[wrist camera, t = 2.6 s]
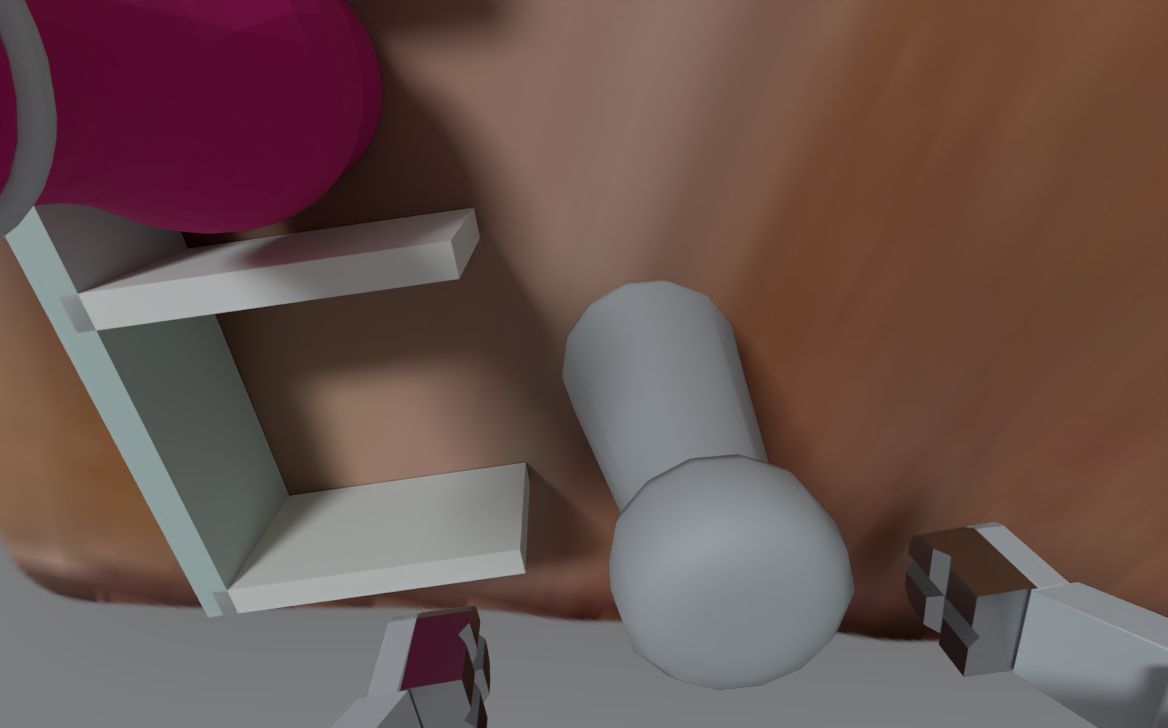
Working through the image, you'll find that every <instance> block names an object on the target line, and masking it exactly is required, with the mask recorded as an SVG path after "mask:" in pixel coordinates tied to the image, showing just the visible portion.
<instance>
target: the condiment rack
mask: <svg viewBox="0 0 1168 728" xmlns="http://www.w3.org/2000/svg"><path fill="white" fill-rule="evenodd" d="M5 237H6V239H7V241H8V243H9V245H10V246H11V248H12V250H13V252H14V254H15V256H16V258H17V260H18V261H19V263H20V265H21V267H22V269H23V271H24V273H25V275H26V276H27V278H28V280H29V282H30V284H31V286H32V288H33V290H34V291H35V293H36V295H37V297H38V299H39V301H40V303H41V305H42V306H43V308H44V310H45V312H46V314H47V316H48V318H49V320H50V321H51V323H52V325H53V327H54V329H55V331H56V333H57V335H58V336H59V338H60V340H61V342H62V344H63V346H64V348H65V350H66V351H67V353H68V355H69V357H70V359H71V361H72V363H73V365H74V366H75V368H76V370H77V372H78V374H79V376H80V378H81V380H82V381H83V383H84V385H85V387H86V389H87V391H88V393H89V395H90V396H91V398H92V400H93V402H94V404H95V406H96V408H97V410H98V411H99V413H100V415H101V417H102V419H103V421H104V423H105V425H106V427H107V428H108V430H109V432H110V434H111V436H112V438H113V440H114V442H115V443H116V445H117V447H118V449H119V451H120V453H121V455H122V457H123V458H124V460H125V462H126V464H127V466H128V468H129V470H130V472H131V473H132V475H133V477H134V479H135V481H136V483H137V485H138V487H139V488H140V490H141V492H142V494H143V496H144V498H145V500H146V502H147V503H148V505H149V507H150V509H151V511H152V513H153V515H154V517H155V518H156V520H157V522H158V524H159V526H160V528H161V530H162V532H163V533H164V535H165V537H166V539H167V541H168V543H169V545H170V547H171V548H172V550H173V552H174V554H175V556H176V558H177V560H178V562H179V563H180V565H181V567H182V569H183V571H184V573H185V575H186V577H187V578H188V580H189V582H190V584H191V586H192V588H193V590H194V592H195V593H196V595H197V597H198V599H199V601H200V603H201V605H202V607H203V609H204V610H205V612H206V614H207V616H208V617H215V616H221V615H229V614H237V613H244V612H251V611H258V610H265V609H272V608H280V607H287V606H294V605H301V604H308V603H315V602H323V601H330V600H337V599H344V598H351V597H358V596H366V595H373V594H380V593H387V592H394V591H401V590H409V589H416V588H423V587H430V586H437V585H444V584H452V583H459V582H466V581H473V580H480V579H487V578H495V577H502V576H509V575H516V574H523V573H525V569H526V550H527V531H528V512H529V492H530V481H529V476H528V471H527V466H526V462H525V463H518V464H511V465H504V466H497V467H490V468H483V469H476V470H468V471H461V472H454V473H447V474H440V475H433V476H426V477H419V478H412V479H404V480H397V481H390V482H383V483H376V484H369V485H362V486H355V487H347V488H340V489H333V490H326V491H319V492H312V493H305V494H298V495H291V496H289V494H288V491H287V489H286V487H285V484H284V482H283V479H282V477H281V474H280V472H279V469H278V467H277V465H276V462H275V460H274V457H273V455H272V452H271V450H270V447H269V445H268V443H267V440H266V438H265V435H264V433H263V430H262V428H261V425H260V423H259V421H258V418H257V416H256V413H255V411H254V408H253V406H252V404H251V401H250V399H249V396H248V394H247V391H246V389H245V386H244V384H243V382H242V379H241V377H240V374H239V372H238V369H237V367H236V364H235V362H234V360H233V357H232V355H231V352H230V350H229V347H228V345H227V342H226V340H225V338H224V335H223V333H222V330H221V328H220V325H219V323H218V320H217V318H216V316H215V314H216V313H224V312H231V311H238V310H245V309H252V308H259V307H266V306H273V305H280V304H287V303H294V302H301V301H308V300H315V299H322V298H329V297H336V296H343V295H350V294H357V293H364V292H371V291H378V290H385V289H392V288H399V287H406V286H413V285H420V284H427V283H434V282H441V281H448V280H455V279H460V277H461V275H462V273H463V271H464V269H465V267H466V265H467V263H468V261H469V259H470V257H471V255H472V253H473V251H474V249H475V247H476V245H477V243H478V241H479V239H480V235H479V230H478V225H477V220H476V215H475V210H474V208H468V209H461V210H454V211H447V212H440V213H433V214H426V215H419V216H412V217H405V218H398V219H391V220H384V221H377V222H370V223H363V224H356V225H349V226H342V227H335V228H328V229H321V230H314V231H307V232H300V233H293V234H286V235H279V236H272V237H265V238H258V239H251V240H244V241H237V242H230V243H223V244H216V245H209V246H202V247H195V248H188V247H187V245H186V242H185V240H184V237H183V235H182V233H181V231H175V230H168V229H162V228H156V227H151V226H148V225H145V224H141V223H138V222H135V221H132V220H129V219H126V218H123V217H120V216H118V215H115V214H112V213H109V212H107V211H104V210H101V209H98V208H95V207H91V206H86V205H75V204H65V203H58V204H46V205H35V206H33V207H32V208H31V210H30V211H29V212H28V214H27V215H26V216H25V217H24V219H23V220H22V221H21V222H20V224H19V225H18V226H17V227H16V228H14V229H13V230H12V231H11V232H9V233H8V234H6V235H5Z"/></svg>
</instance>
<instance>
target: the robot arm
mask: <svg viewBox="0 0 1168 728" xmlns="http://www.w3.org/2000/svg"><path fill="white" fill-rule="evenodd" d="M908 553H909V554H910V556H911V557H912V558H913V559H914V560H915V562H914V563H913V564H912V565H911V566H910V568H909V569H908V570H907V571H906V581H905V587H906V591H907V595H908V599H909V602H910V604H911V606H912V608H913V610H914V612H915V613H916V615H917V616H918V618H919V619H920V620H921V622H922V623H923V624H924V625H926V626H928V627H930V628H931V629H933V630H935V631H937V632H939V633H940V636H939V645H940V647H941V648H942V649H943V651H944V652H945V653H946V654H947V656H948V657H949V658H950V659H951V661H952V662H953V663H954V665H955V666H956V667H957V669H958V670H959V671H960V672H961V674H962V675H963V676H964V677H965V676H972V675H980V674H988V673H995V672H1002V671H1010V670H1013V673H1014V674H1016V675H1017V676H1019V677H1021V678H1022V679H1023V680H1025V681H1027V682H1028V683H1030V684H1031V685H1033V686H1034V687H1036V688H1037V689H1039V690H1041V691H1042V692H1044V693H1045V694H1047V695H1048V696H1050V697H1051V698H1053V699H1055V700H1056V701H1058V702H1059V703H1061V704H1062V705H1064V706H1065V707H1067V708H1069V709H1070V710H1072V711H1073V712H1075V713H1076V714H1078V715H1079V716H1081V717H1083V718H1084V719H1086V720H1087V721H1089V722H1090V723H1092V724H1094V725H1095V726H1096V727H1098V728H1168V618H1167V617H1164V616H1162V615H1159V614H1157V613H1154V612H1152V611H1149V610H1147V609H1144V608H1142V607H1139V606H1137V605H1134V604H1132V603H1129V602H1127V601H1124V600H1122V599H1119V598H1117V597H1114V596H1112V595H1109V594H1107V593H1104V592H1102V591H1099V590H1097V589H1094V588H1092V587H1089V586H1087V585H1084V584H1082V583H1079V582H1077V583H1069V582H1068V581H1066V580H1065V579H1064V578H1063V577H1062V576H1061V575H1060V574H1058V573H1057V572H1056V571H1055V570H1054V569H1053V568H1052V567H1050V566H1049V565H1048V564H1047V563H1046V562H1045V561H1043V560H1042V559H1041V558H1040V557H1039V556H1038V555H1037V554H1035V553H1034V552H1033V551H1032V550H1031V549H1030V548H1029V547H1027V546H1026V545H1025V544H1024V543H1023V542H1022V541H1020V540H1019V539H1018V538H1017V537H1016V536H1015V535H1014V534H1012V533H1011V532H1010V531H1009V530H1008V529H1007V528H1006V527H1004V526H1003V525H1001V524H999V523H996V522H990V523H984V524H978V525H972V526H967V527H962V528H956V529H950V530H944V531H938V532H932V533H926V534H920V535H914V536H913V537H912V539H911V540H910V542H909V550H908ZM479 629H480V618H479V615H478V612H477V608H476V607H475V606H467V607H459V608H452V609H444V610H437V611H429V612H422V613H420V614H412V615H404V616H396V617H393V618H392V619H391V621H390V622H389V623H388V625H387V628H386V632H385V635H384V639H383V643H382V646H381V649H380V653H379V656H378V660H377V663H376V667H375V670H374V674H373V677H372V680H371V684H370V687H369V691H368V694H367V697H362V698H358V699H357V700H356V701H355V702H354V703H353V704H352V705H351V707H350V708H349V709H348V710H347V711H346V712H345V713H344V714H343V715H342V716H341V717H340V718H339V719H338V720H337V722H336V723H335V724H334V725H333V726H332V727H331V728H487V714H486V710H485V707H484V703H483V702H484V701H485V700H486V698H487V697H488V695H489V692H490V661H489V655H488V649H487V644H486V640H485V638H483V637H481V636H480V635H479Z"/></svg>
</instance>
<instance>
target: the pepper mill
mask: <svg viewBox="0 0 1168 728" xmlns="http://www.w3.org/2000/svg"><path fill="white" fill-rule="evenodd" d="M382 99H383V95H382V81H381V72H380V68H379V64H378V61H377V57H376V53H375V49H374V46H373V44H372V42H371V40H370V38H369V35H368V33H367V31H366V29H365V27H364V26H363V24H362V22H361V21H360V19H359V17H358V16H357V14H356V13H355V11H354V10H353V9H352V7H351V6H350V5H349V4H348V3H347V2H346V0H0V239H1V238H2V237H4V236H5V235H6V234H8V233H9V232H11V231H12V230H13V229H14V228H16V227H17V226H18V225H19V224H20V222H21V221H22V220H23V219H24V217H25V216H26V215H27V214H28V212H29V211H30V210H31V208H32V207H33V206H35V205H46V204H58V203H65V204H75V205H86V206H91V207H95V208H98V209H101V210H104V211H107V212H109V213H112V214H115V215H118V216H120V217H123V218H126V219H129V220H132V221H135V222H138V223H141V224H145V225H148V226H151V227H156V228H162V229H168V230H175V231H183V232H194V233H205V234H213V233H226V232H239V231H246V230H250V229H254V228H258V227H262V226H266V225H270V224H273V223H276V222H279V221H282V220H285V219H288V218H290V217H292V216H294V215H296V214H298V213H299V212H301V211H303V210H305V209H307V208H308V207H309V206H311V205H312V204H313V203H314V202H315V201H317V200H318V199H319V198H320V197H321V196H323V195H324V194H325V193H326V192H327V191H328V189H329V188H330V187H331V186H332V185H333V184H334V182H335V181H336V180H337V179H338V178H339V176H340V175H342V174H343V173H344V172H346V171H347V170H349V169H350V168H351V167H352V166H353V165H354V164H355V163H356V162H357V161H358V160H359V159H360V157H361V156H362V155H363V154H364V153H365V151H366V149H367V148H368V146H369V144H370V143H371V141H372V140H373V138H374V135H375V131H376V128H377V125H378V122H379V119H380V114H381V106H382Z"/></svg>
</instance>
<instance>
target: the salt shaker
mask: <svg viewBox="0 0 1168 728" xmlns="http://www.w3.org/2000/svg"><path fill="white" fill-rule="evenodd" d="M562 378H563V381H564V384H565V387H566V389H567V392H568V395H569V397H570V400H571V403H572V406H573V408H574V411H575V413H576V415H577V418H578V420H579V422H580V424H581V426H582V429H583V431H584V433H585V435H586V437H587V440H588V442H589V444H590V446H591V449H592V451H593V453H594V455H595V457H596V460H597V462H598V464H599V466H600V468H601V471H602V473H603V475H604V477H605V479H606V482H607V484H608V486H609V488H610V490H611V493H612V495H613V497H614V499H615V502H616V504H617V506H618V508H619V510H620V514H619V517H618V520H617V523H616V528H615V533H614V538H613V544H612V549H611V554H610V560H609V572H610V588H611V591H612V594H613V596H614V599H615V602H616V605H617V608H618V610H619V613H620V616H621V618H622V621H623V624H624V626H625V629H626V631H627V634H628V637H629V639H630V641H631V644H632V647H633V650H634V651H635V652H636V653H637V654H639V655H640V656H641V657H643V658H644V659H646V660H647V661H648V662H650V663H651V664H653V665H654V666H655V667H657V668H658V669H659V670H661V671H662V672H663V673H665V674H666V675H668V676H670V677H673V678H675V679H678V680H680V681H683V682H687V683H692V684H697V685H701V686H704V687H709V688H713V689H718V690H724V689H733V688H741V687H750V686H758V685H763V684H766V683H768V682H770V681H772V680H775V679H777V678H780V677H782V676H784V675H787V674H789V673H792V672H794V671H796V670H799V669H801V668H802V667H803V666H804V665H805V664H806V663H807V662H808V661H809V660H810V659H811V658H813V657H814V656H815V655H816V654H817V653H818V652H819V651H820V650H821V649H822V648H823V647H824V646H825V645H827V643H829V642H830V640H831V639H832V637H833V636H834V635H835V633H836V632H837V630H838V628H839V626H840V624H841V622H842V619H843V617H844V615H845V612H846V610H847V608H848V606H849V603H850V601H851V599H852V596H853V594H854V592H855V589H854V584H853V578H852V573H851V568H850V562H849V557H848V552H847V549H846V547H845V544H844V542H843V539H842V537H841V534H840V531H839V529H838V526H837V524H836V523H835V522H834V520H833V519H832V518H831V517H830V515H829V514H828V513H827V512H826V510H825V509H824V508H823V507H822V505H821V504H820V503H819V502H818V501H817V500H816V499H815V497H814V496H813V495H812V494H811V493H810V492H809V491H808V490H807V489H806V488H805V487H804V486H803V485H802V484H801V483H800V482H799V481H798V479H797V478H796V477H795V476H794V475H793V474H792V473H791V472H789V471H787V470H785V469H783V468H782V467H779V466H776V465H773V464H769V463H768V459H767V456H766V452H765V448H764V445H763V441H762V437H761V434H760V430H759V427H758V423H757V419H756V416H755V412H754V408H753V405H752V401H751V397H750V394H749V390H748V386H747V383H746V379H745V376H744V372H743V368H742V365H741V361H740V357H739V353H738V349H737V345H736V341H735V337H734V333H733V330H732V326H731V323H730V322H729V321H728V320H727V319H726V318H725V316H724V315H723V314H722V313H721V312H720V311H719V309H718V308H717V307H716V306H715V305H714V304H713V303H712V301H711V300H710V299H709V298H708V297H707V296H706V295H704V294H702V293H700V292H697V291H694V290H692V289H689V288H686V287H683V286H680V285H677V284H675V283H672V282H669V281H666V280H657V281H646V282H635V283H625V284H623V285H621V286H620V287H618V288H616V289H614V290H613V291H611V292H609V293H608V294H606V295H604V296H602V297H601V298H599V299H597V300H596V301H594V302H592V303H590V305H589V306H588V308H587V309H586V310H585V312H584V313H583V315H582V316H581V318H580V319H579V320H578V322H577V323H576V325H575V326H574V328H573V329H572V331H571V332H570V333H569V335H568V338H567V344H566V351H565V358H564V366H563V373H562Z"/></svg>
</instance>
